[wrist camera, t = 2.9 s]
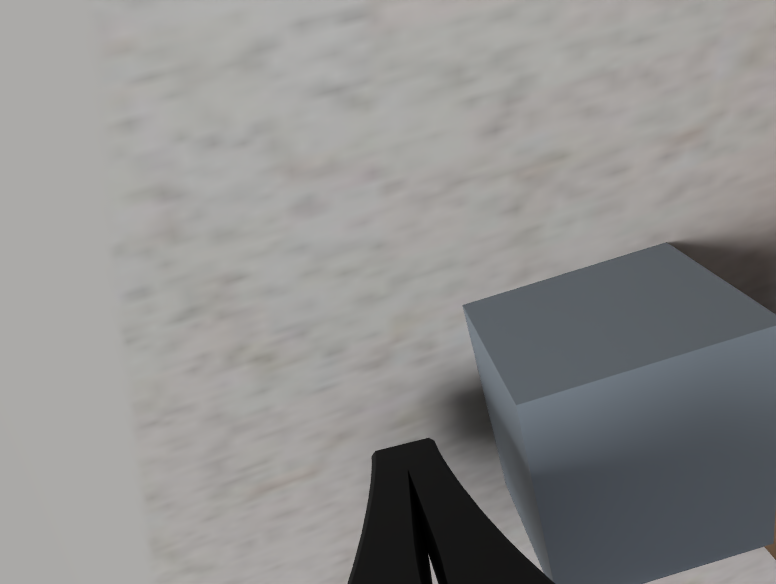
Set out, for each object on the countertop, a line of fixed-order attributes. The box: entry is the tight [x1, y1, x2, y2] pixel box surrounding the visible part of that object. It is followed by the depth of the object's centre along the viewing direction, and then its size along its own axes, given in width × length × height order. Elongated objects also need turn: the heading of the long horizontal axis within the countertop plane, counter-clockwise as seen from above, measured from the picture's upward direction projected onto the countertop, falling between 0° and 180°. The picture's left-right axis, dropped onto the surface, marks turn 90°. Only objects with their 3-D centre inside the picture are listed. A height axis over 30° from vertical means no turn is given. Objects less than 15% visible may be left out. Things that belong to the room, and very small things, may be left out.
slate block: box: [463, 242, 776, 584], centre depth 14 cm, size 6×5×4 cm
